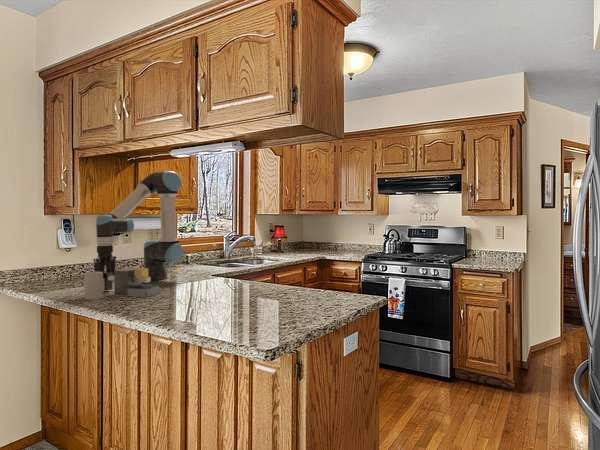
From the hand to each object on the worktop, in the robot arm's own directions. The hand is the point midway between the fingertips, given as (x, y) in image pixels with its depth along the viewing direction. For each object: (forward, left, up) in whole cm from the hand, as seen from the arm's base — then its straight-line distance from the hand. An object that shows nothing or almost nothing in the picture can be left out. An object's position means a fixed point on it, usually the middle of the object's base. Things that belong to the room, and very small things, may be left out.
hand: (105, 290), depth 219 cm
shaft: (0, +12, 0) cm, 12 cm away
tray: (0, +24, -1) cm, 24 cm away
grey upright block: (+14, +6, -1) cm, 15 cm away
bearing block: (0, +14, -1) cm, 14 cm away
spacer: (0, +22, +8) cm, 24 cm away
